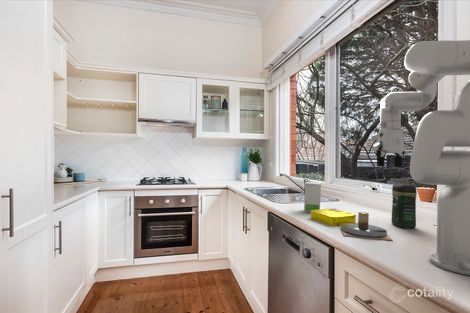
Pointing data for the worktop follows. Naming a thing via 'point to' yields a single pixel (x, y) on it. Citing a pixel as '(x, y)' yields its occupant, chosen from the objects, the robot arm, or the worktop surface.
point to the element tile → (333, 216)
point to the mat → (365, 237)
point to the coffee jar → (404, 205)
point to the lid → (363, 228)
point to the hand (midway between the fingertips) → (389, 166)
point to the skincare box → (312, 196)
